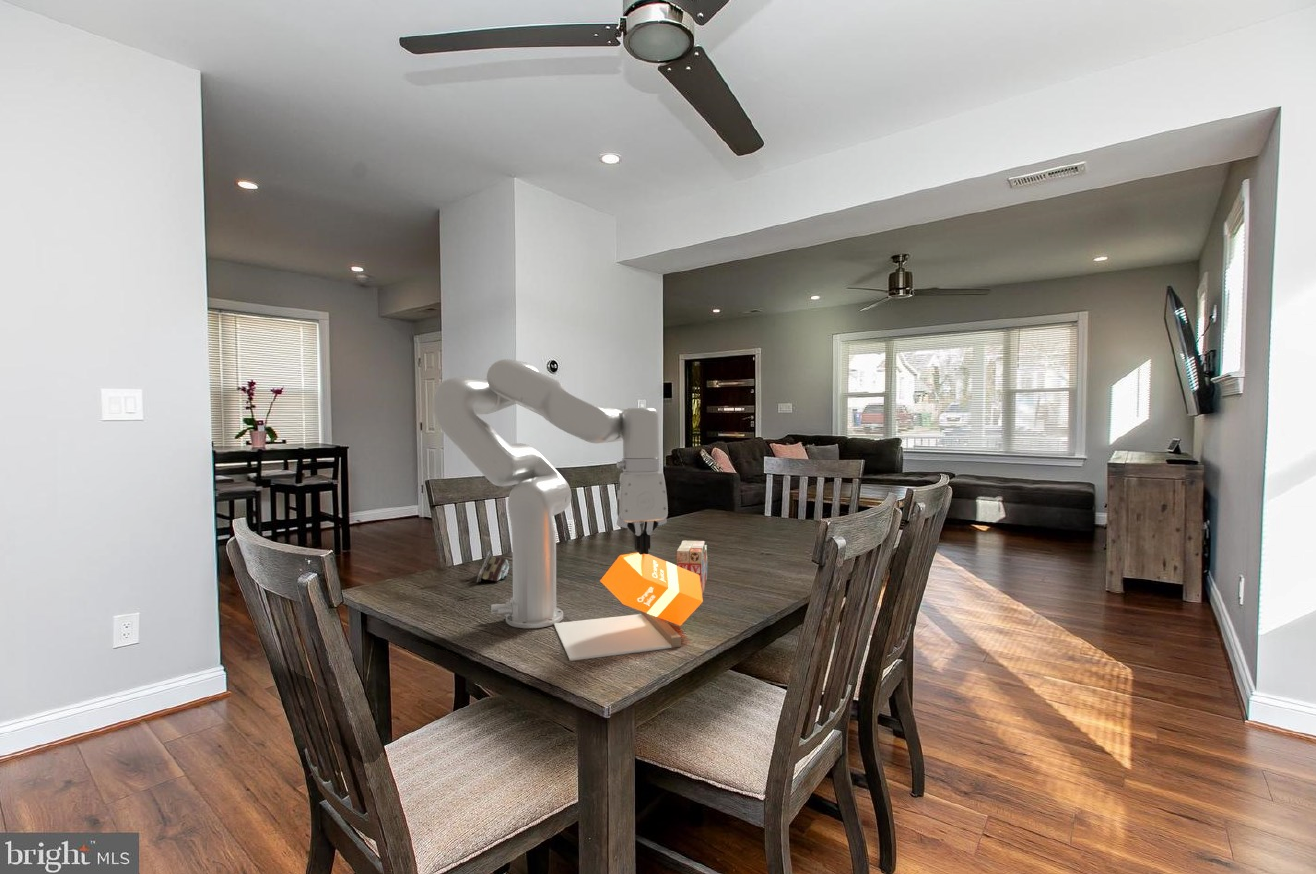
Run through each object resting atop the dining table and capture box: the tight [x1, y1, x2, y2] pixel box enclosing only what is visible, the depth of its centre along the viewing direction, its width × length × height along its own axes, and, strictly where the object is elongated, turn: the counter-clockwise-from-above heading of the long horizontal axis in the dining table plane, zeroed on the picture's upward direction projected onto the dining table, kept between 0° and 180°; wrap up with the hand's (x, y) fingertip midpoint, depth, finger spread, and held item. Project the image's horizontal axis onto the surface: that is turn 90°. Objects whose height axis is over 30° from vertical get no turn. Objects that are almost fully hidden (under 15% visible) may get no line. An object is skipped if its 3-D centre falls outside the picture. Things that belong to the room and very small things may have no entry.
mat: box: [553, 611, 682, 662], centre depth 124 cm, size 22×20×2 cm
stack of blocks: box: [676, 540, 708, 596], centre depth 159 cm, size 21×6×12 cm, turn 171°
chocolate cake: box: [476, 549, 510, 583], centre depth 166 cm, size 10×7×12 cm
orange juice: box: [599, 551, 704, 627], centre depth 127 cm, size 8×9×20 cm
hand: (642, 553), depth 126 cm, fingers closed
